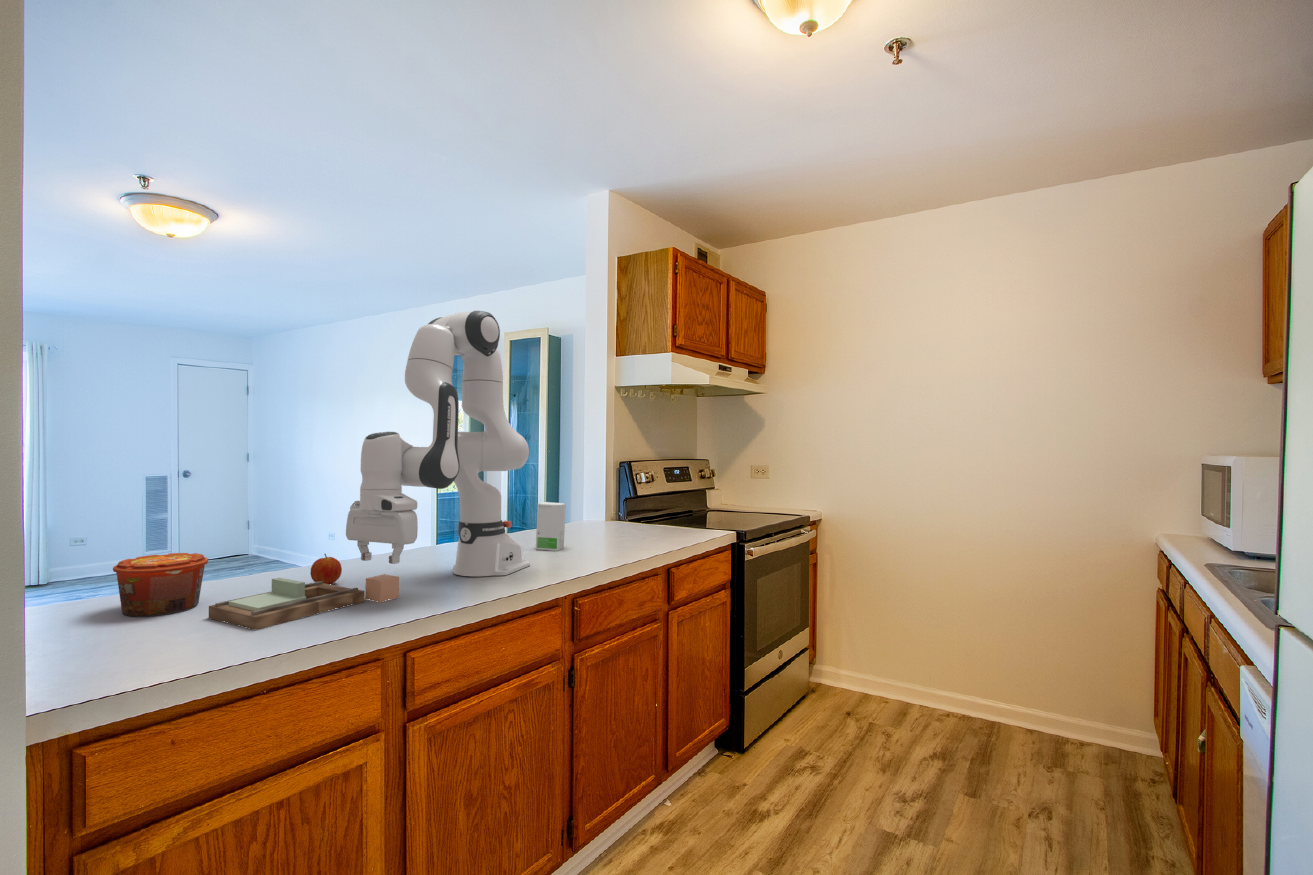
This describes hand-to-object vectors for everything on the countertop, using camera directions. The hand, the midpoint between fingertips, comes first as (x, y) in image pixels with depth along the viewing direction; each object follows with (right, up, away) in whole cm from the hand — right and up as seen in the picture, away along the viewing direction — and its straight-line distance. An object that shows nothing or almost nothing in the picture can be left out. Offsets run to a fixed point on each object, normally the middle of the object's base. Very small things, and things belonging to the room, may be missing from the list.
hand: (380, 561), depth 144 cm
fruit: (-19, -9, +13) cm, 25 cm away
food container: (-42, -8, -10) cm, 44 cm away
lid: (-17, -6, -14) cm, 23 cm away
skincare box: (+28, -9, +67) cm, 73 cm away
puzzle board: (-15, -8, -9) cm, 20 cm away
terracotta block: (0, -9, +1) cm, 9 cm away
